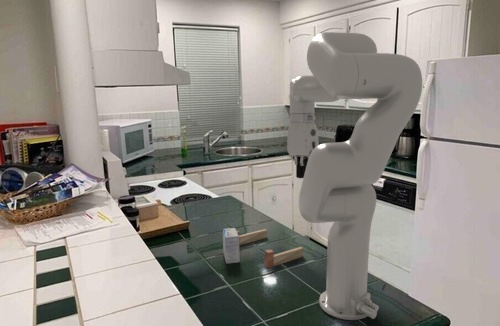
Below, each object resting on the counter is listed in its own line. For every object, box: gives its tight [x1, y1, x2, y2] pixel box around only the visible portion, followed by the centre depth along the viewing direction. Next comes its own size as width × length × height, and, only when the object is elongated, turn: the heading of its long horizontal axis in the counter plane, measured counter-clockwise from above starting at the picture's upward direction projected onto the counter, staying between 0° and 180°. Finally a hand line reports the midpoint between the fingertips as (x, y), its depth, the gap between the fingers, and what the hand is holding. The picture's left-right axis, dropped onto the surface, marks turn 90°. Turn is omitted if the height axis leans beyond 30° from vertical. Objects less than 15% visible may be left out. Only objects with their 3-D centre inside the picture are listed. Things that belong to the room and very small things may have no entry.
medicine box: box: [222, 227, 241, 264], centre depth 116 cm, size 8×4×9 cm, turn 10°
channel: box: [236, 228, 304, 270], centre depth 121 cm, size 21×14×5 cm, turn 34°
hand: (301, 177), depth 116 cm, fingers closed
